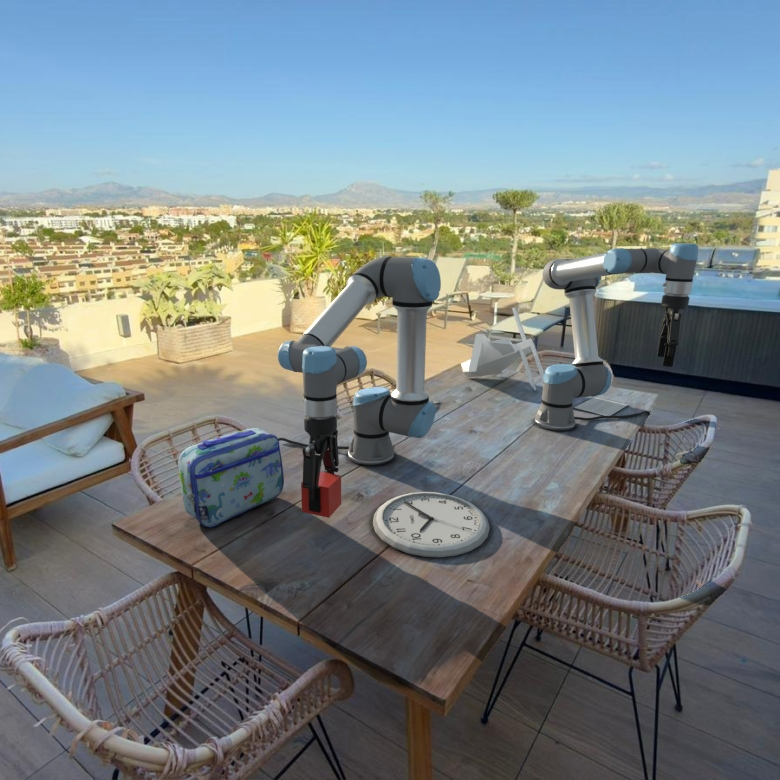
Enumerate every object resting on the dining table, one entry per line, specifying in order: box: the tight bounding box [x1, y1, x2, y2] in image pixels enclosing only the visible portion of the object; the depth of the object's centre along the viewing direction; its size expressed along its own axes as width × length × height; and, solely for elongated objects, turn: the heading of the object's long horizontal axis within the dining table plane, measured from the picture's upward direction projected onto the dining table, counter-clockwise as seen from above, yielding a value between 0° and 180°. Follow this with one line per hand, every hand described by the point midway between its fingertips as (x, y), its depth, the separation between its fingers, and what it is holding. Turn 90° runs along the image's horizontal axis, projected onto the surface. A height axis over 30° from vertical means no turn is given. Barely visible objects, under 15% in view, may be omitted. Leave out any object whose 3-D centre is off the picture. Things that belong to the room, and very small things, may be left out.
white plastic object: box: [460, 307, 545, 391], centre depth 258 cm, size 37×45×31 cm
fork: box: [433, 395, 442, 406], centre depth 223 cm, size 3×16×2 cm, turn 160°
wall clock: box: [372, 491, 490, 558], centre depth 135 cm, size 30×2×30 cm
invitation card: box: [573, 396, 629, 416], centre depth 226 cm, size 21×1×15 cm
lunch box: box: [177, 427, 285, 528], centre depth 137 cm, size 26×11×21 cm, turn 134°
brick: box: [300, 471, 342, 519], centre depth 126 cm, size 7×7×8 cm
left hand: (322, 503), depth 127 cm, fingers closed on brick, 7 cm apart
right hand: (664, 361), depth 169 cm, fingers open, 13 cm apart
